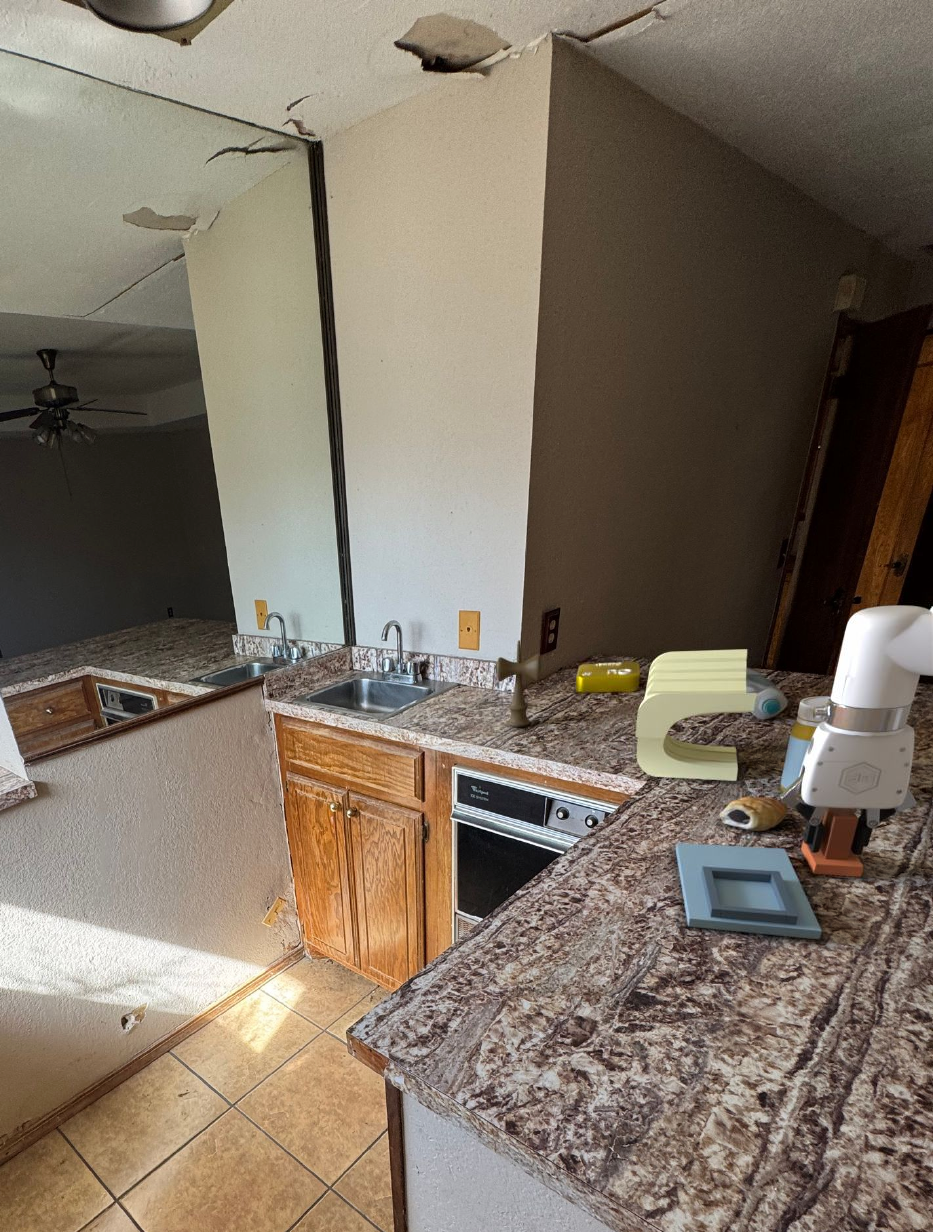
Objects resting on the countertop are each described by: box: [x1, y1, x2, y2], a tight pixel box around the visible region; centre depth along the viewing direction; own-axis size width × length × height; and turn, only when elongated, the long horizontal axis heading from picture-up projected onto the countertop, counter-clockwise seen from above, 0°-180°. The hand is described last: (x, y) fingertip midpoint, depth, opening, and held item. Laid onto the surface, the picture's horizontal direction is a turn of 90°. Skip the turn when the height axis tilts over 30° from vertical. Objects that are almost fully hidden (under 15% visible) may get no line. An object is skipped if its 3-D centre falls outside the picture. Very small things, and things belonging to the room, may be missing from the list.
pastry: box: [719, 796, 789, 832], centre depth 98 cm, size 9×7×4 cm
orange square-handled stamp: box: [800, 808, 864, 878], centre depth 85 cm, size 5×7×8 cm
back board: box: [675, 842, 823, 940], centre depth 84 cm, size 13×20×2 cm, turn 157°
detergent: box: [746, 667, 789, 721], centre depth 142 cm, size 13×7×25 cm
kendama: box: [496, 639, 542, 728], centre depth 150 cm, size 6×10×20 cm, turn 71°
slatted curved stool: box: [635, 649, 757, 782], centre depth 117 cm, size 30×16×18 cm, turn 151°
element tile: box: [575, 661, 641, 694], centre depth 173 cm, size 15×15×5 cm
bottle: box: [779, 695, 831, 800], centre depth 102 cm, size 7×7×15 cm
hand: (833, 848), depth 86 cm, fingers open, 3 cm apart
